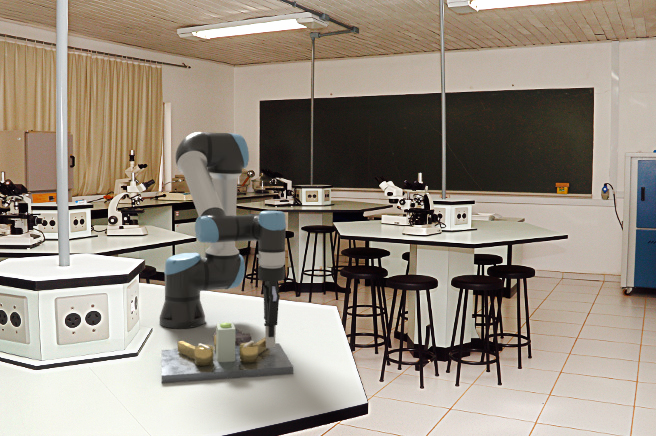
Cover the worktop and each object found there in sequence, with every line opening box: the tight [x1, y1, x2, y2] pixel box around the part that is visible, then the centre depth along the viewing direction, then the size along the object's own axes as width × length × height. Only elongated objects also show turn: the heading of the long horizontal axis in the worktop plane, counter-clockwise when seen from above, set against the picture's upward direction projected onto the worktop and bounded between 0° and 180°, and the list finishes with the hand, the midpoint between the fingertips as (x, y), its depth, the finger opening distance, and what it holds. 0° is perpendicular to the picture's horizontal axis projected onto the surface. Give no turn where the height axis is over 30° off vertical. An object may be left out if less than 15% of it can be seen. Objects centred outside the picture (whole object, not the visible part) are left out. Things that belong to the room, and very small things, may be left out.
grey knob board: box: [160, 335, 294, 384], centre depth 167 cm, size 20×34×6 cm, turn 105°
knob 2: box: [239, 337, 267, 362], centre depth 170 cm, size 14×5×5 cm, turn 160°
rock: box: [212, 328, 252, 346], centre depth 185 cm, size 8×11×5 cm
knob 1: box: [177, 340, 214, 365], centre depth 166 cm, size 14×5×5 cm, turn 45°
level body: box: [215, 322, 236, 362], centre depth 167 cm, size 6×5×10 cm
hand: (270, 346), depth 174 cm, fingers closed
